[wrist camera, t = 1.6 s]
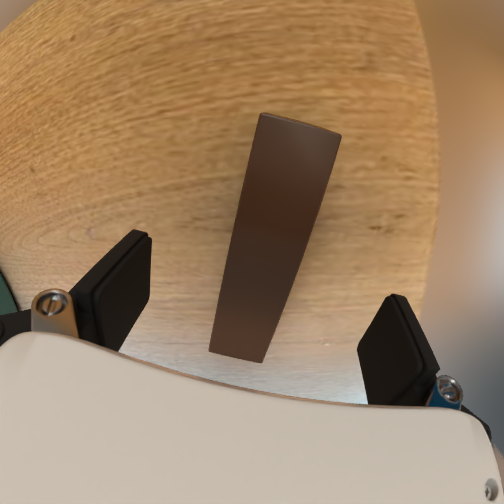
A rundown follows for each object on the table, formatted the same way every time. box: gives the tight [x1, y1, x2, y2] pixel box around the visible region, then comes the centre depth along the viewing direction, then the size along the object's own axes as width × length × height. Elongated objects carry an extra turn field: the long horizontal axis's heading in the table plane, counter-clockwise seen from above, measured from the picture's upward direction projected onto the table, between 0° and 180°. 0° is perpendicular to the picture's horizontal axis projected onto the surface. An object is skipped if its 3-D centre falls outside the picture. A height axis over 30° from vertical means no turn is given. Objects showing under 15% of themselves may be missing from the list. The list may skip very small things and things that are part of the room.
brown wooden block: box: [209, 113, 342, 363], centre depth 13 cm, size 12×3×4 cm, turn 167°
